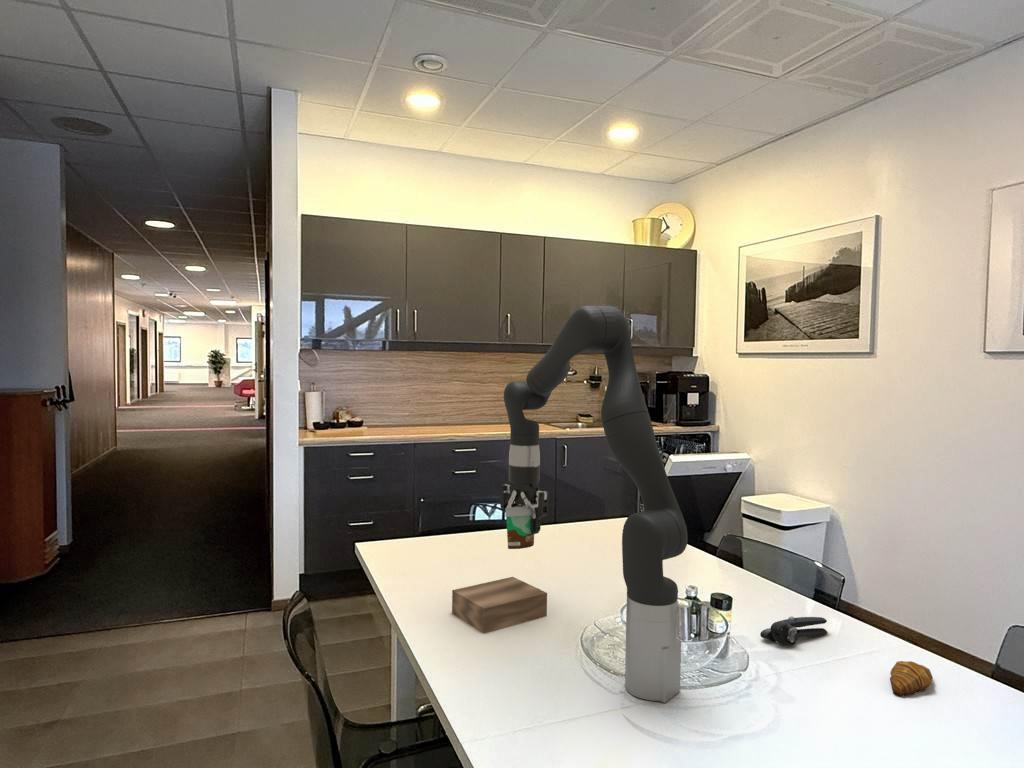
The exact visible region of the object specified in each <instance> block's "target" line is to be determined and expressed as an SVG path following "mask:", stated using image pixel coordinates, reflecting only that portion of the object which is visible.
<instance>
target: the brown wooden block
mask: <svg viewBox="0 0 1024 768" xmlns="http://www.w3.org/2000/svg"><path fill="white" fill-rule="evenodd" d="M451 594H452V596H451V598H452V599H451V601H452V602H451V613H452V614H453V615H454V616H455V617H457V618H458V619H460V620H462V621H463V622H465V623H466V624H468V625H470V626H471V627H472V628H474V629H476V630H477V631H478V632H480V633H482V634H483V635H485V634H489V633H493V632H495V631H498V630H499V631H500V630H503V629H506V628H510V627H513V626H517V625H521V624H524V623H527V622H532V621H535V620H538V619H543V618H545V617H548V616H547V613H548V608H547V607H548V592H546V591H544V590H541V589H539V588H537V587H536V586H534V585H532V584H529V583H527V582H525V581H523V580H521V579H519V578H516V577H514V576H511V577H510V576H509V577H506V578H500V579H497V580H496V579H495V580H491V581H488V582H483V583H482V582H481V583H479V584H474V585H469V586H465V587H460V588H456V589H452V591H451Z"/></svg>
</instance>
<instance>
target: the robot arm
mask: <svg viewBox="0 0 1024 768" xmlns="http://www.w3.org/2000/svg"><path fill="white" fill-rule="evenodd" d="M631 339H632V338H631V335H630V329H629V325H628V322H627V319H626V316H625V315H624V312H622V311H621V310H620V309H619V308H618V307H615V306H612V305H610V306H609V305H608V306H607V305H584V306H579V307H578V308H577V309H575V310H574V311H573V312H572V313H571V314H570V316H569V318H568V319H567V321H566V322H565V323H564V325H563V327H562V328H561V330H560V331H559V333H558V335H557V336H556V338H555V340H554V341H553V343H552V344H551V346H550V348H549V349H548V351H547V352H546V353H545V354H544V356H543V357H542V358H541V359H540V360H539V361H538V362H536V364H535V365H534V366H533V367H532V368H531V369H530V370H529V371H528V373H527V374H526V378H525V379H526V380H513V381H510V382H508V384H506V386H505V388H504V391H503V401H504V406H505V410H506V413H507V418H508V422H509V428H510V435H509V436H510V439H509V440H510V441H509V442H510V445H509V451H508V454H509V455H508V482H509V483H510V484H509V483H505V484H501V485H500V487H499V490H500V492H499V493H500V495H499V497H500V498H499V499H500V500H499V502H500V509H502V510H504V511H506V507H513V506H514V505H519V504H522V505H524V506H528V509H530V510H531V514H532V519H531V533H532V534H534V535H536V534H539V533H540V531H541V528H542V527H541V524H542V523H541V519H542V517H547V516H548V515H549V501H550V499H549V498H550V492H549V491H548V490H544V491H542V490H540V489H539V483H540V479H541V478H540V476H541V474H540V471H541V470H540V468H541V467H540V466H541V454H540V453H541V452H540V425H539V423H538V421H536V420H534V419H529V418H527V417H526V416H525V414H524V411H528V410H529V411H534V410H535V411H536V410H540V409H542V408H543V407H544V406H546V405H547V402H548V401H549V399H550V396H551V394H552V393H553V391H554V390H555V389H556V388H557V387H558V386H560V384H561V383H563V381H564V380H565V379H566V378H567V376H568V374H569V372H570V368H571V360H572V358H574V357H575V356H577V355H579V354H580V353H582V352H584V351H585V352H586V351H587V352H602V353H603V355H604V357H605V361H606V366H607V371H608V380H607V381H608V382H607V385H606V390H605V393H604V397H603V400H602V404H601V408H600V419H601V423H602V424H601V425H602V427H603V432H604V435H605V439H606V443H607V445H608V449H609V450H610V452H611V454H612V456H613V457H614V459H616V461H617V462H618V463H619V465H620V466H621V468H622V469H623V470H624V471H625V472H626V473H627V474H628V475H629V477H630V479H631V480H632V481H633V482H634V485H635V487H636V489H637V490H638V492H639V493H638V494H639V496H640V498H641V501H642V505H643V509H644V511H639V512H635V513H633V514H630V515H629V516H628V517H627V518H626V520H625V522H624V524H623V528H622V533H621V534H622V535H621V551H622V552H621V555H622V575H623V579H624V584H625V586H626V612H625V613H626V614H625V616H626V617H625V618H626V620H625V621H626V622H625V661H624V662H625V664H624V666H625V667H624V668H625V671H624V687H625V689H626V691H627V692H629V694H630V695H633V696H634V697H636V698H639V699H642V700H646V701H650V702H651V701H652V702H653V701H655V702H660V703H667V702H669V701H670V700H671V699H672V698H673V697H674V696H675V695H677V693H680V691H681V668H682V665H681V663H682V662H681V661H682V640H681V639H680V638H678V599H679V587H678V584H677V583H676V581H674V580H673V579H671V578H669V577H666V576H664V565H663V561H664V560H669V559H672V558H676V557H678V556H680V555H682V554H683V553H684V551H685V550H686V548H687V545H688V537H689V536H688V527H687V524H686V521H685V519H684V516H683V515H684V514H683V512H682V511H681V508H680V506H679V503H678V500H677V498H676V496H675V493H674V490H673V488H672V486H671V483H670V481H669V478H668V475H667V472H666V469H665V465H664V462H663V459H662V455H661V452H660V450H659V446H658V442H657V439H656V435H655V431H654V427H653V426H654V425H653V423H652V420H651V416H650V413H649V410H648V407H647V404H646V401H645V398H644V395H643V391H642V387H641V382H640V380H639V379H640V378H639V376H638V372H637V371H638V370H637V366H636V363H635V357H634V356H635V355H634V351H633V346H632V340H631ZM533 503H534V505H531V504H533ZM534 509H535V510H536V512H535V510H534Z"/></svg>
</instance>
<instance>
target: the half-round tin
mask: <svg viewBox="0 0 1024 768" xmlns="http://www.w3.org/2000/svg"><path fill="white" fill-rule="evenodd" d="M531 505H534V503H533V504H531ZM534 510H535V509H534ZM535 512H536V510H535ZM504 516H505V518H506V537H507V549H508V550H520V549H521V550H522V549H528V548H531V547H533V546H534V545H535V534H532V533H531V519H532V514H531V510H530V509H528V506H524V505H522V504H519V505H514V506H513V507H506V510H505V515H504Z"/></svg>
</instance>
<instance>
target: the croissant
mask: <svg viewBox="0 0 1024 768" xmlns="http://www.w3.org/2000/svg"><path fill="white" fill-rule="evenodd" d="M889 682H890V685H891V690H892V694H894V695H895V696H899V697H909V696H910V697H911V696H913V695H915V694H916V693H920V692H923V691H925V690H927V688H929V686H930V685H931V684H932V682H933V675H932V672H931V670H930V668H928V667H926V666H925V665H922V664H919V663H917V662H914V661H909V660H908V661H907V660H905V661H903V660H899V661H896V663H895V664H894V665H893V667H892V668H891V670H890V677H889Z"/></svg>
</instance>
